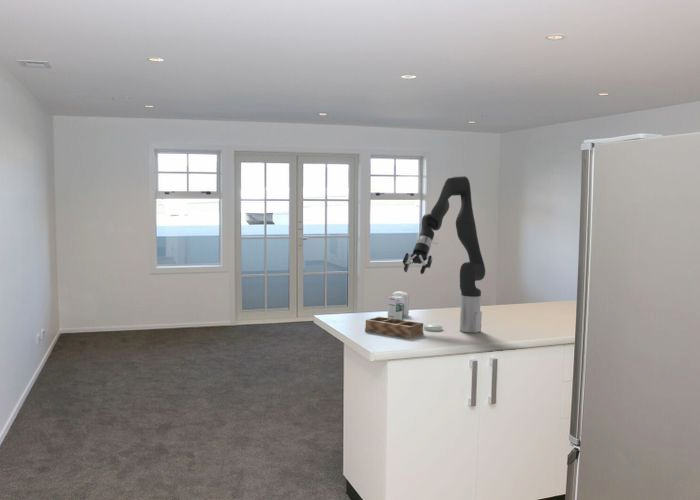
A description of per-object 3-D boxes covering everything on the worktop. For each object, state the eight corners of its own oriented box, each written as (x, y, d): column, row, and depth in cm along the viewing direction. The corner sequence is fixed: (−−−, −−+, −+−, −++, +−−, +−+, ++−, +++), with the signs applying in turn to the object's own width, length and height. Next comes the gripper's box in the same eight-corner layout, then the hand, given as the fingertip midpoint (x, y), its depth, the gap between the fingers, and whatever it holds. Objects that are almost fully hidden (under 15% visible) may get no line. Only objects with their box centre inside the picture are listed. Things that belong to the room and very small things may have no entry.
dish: (445, 329, 326) (445, 325, 326) (437, 332, 318) (437, 328, 318) (428, 327, 331) (429, 323, 331) (420, 330, 323) (420, 325, 323)
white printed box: (390, 313, 365) (391, 290, 364) (396, 312, 368) (397, 290, 367) (403, 316, 357) (404, 293, 356) (409, 315, 360) (410, 292, 359)
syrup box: (394, 327, 326) (395, 297, 325) (386, 325, 331) (387, 296, 330) (403, 326, 330) (404, 297, 328) (395, 324, 334) (396, 295, 333)
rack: (423, 334, 313) (423, 323, 312) (408, 338, 302) (409, 327, 302) (380, 327, 327) (380, 316, 326) (364, 331, 316) (365, 320, 316)
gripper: (407, 240, 344) (398, 266, 335) (434, 243, 337) (425, 269, 329) (411, 249, 349) (401, 275, 341) (437, 252, 343) (428, 278, 334)
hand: (413, 272), depth 335 cm, fingers open, 8 cm apart
